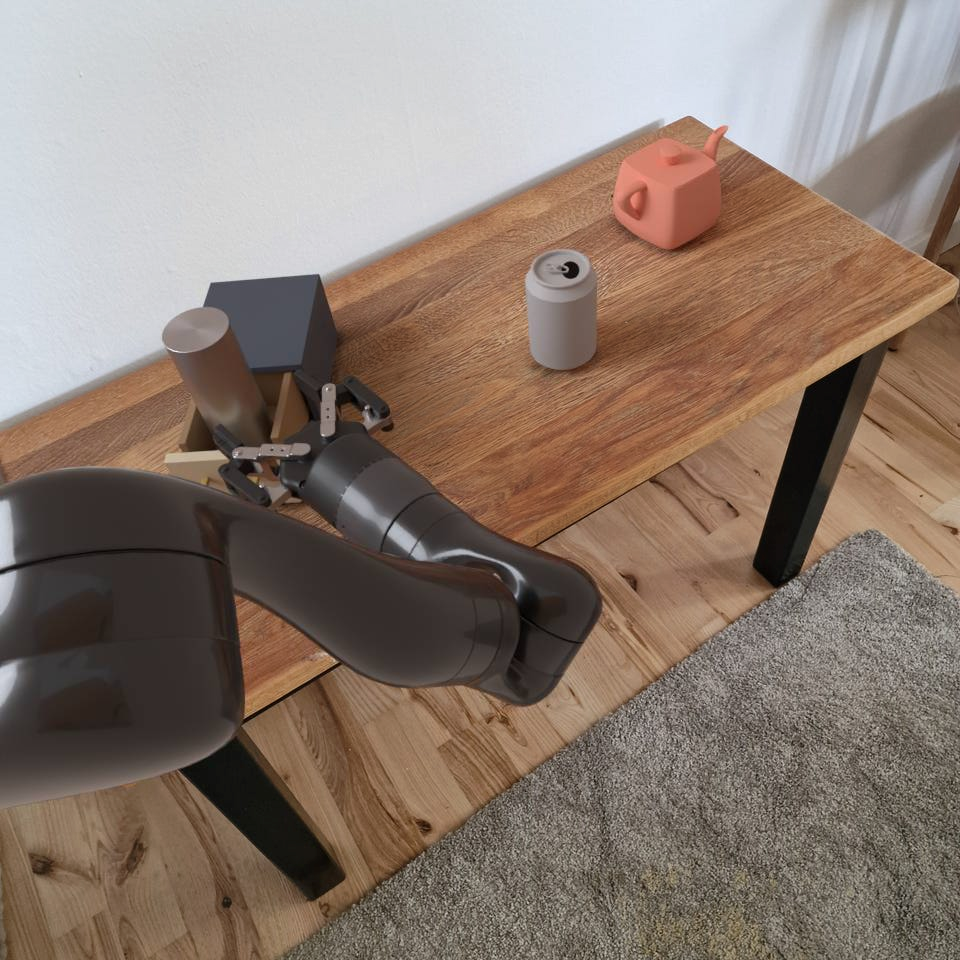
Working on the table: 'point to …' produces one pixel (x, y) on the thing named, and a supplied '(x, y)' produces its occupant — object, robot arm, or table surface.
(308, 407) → the drawer
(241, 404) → the cylinder
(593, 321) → the can
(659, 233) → the teapot
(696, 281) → the table surface
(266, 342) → the cabinet
